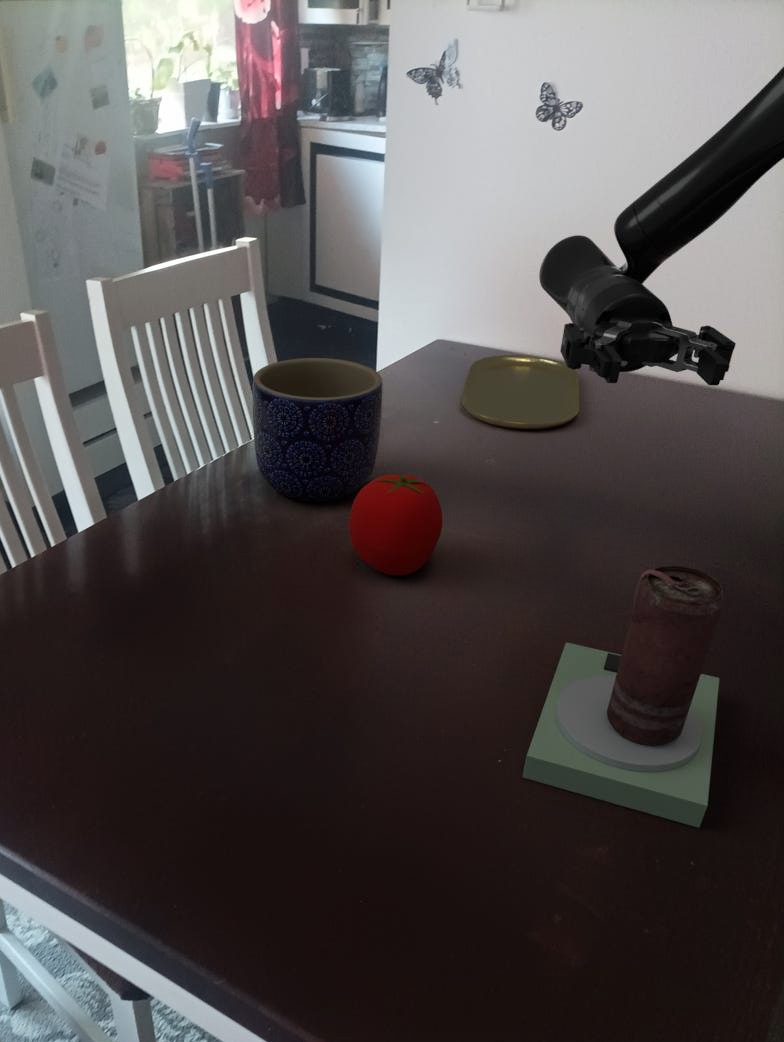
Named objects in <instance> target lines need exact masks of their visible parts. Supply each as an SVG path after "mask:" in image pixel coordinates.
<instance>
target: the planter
mask: <svg viewBox="0 0 784 1042" xmlns="http://www.w3.org/2000/svg"><path fill="white" fill-rule="evenodd" d="M382 406H383V378H382V376H381V375H380V373H378V372H377V371H376V370H375V369H373V368H371V367H370V366H367V365H364V364H363V363H362V364H361V363H358V362H355V361H349V360H345V359H336V358H330V357H329V358H328V357H325V358H324V357H303V358H292V359H285V360H280V361H277V362H273V363H270V364H268V365H265V366H263V367H261V368H259V369H258V370H257V371H256V372H255V373H254V374H253V377H252V422H253V423H252V425H253V441H254V451H255V452H254V453H255V459H256V463H257V467H258V470H259V472H260V475H262V477H263V479H264V480H265V481H266V482H267V484H268V485H269V486H270V487H271V488H272V489H273V490H274V491H276V492H278V493H279V494H281V495H283V496H285V497H287V498H290V499H293V500H297V501H303V502H312V503H313V502H315V503H316V502H317V503H318V502H319V503H321V502H331V501H336V500H340V499H343V498H346V497H348V496H350V495H352V494H354V493H356V492H357V491H358V490H360V489H361V488H362V487H364V484H365V483H366V482H367V481H368V480H369V478H370V477H371V475H372V473H373V472H374V468H375V465H376V462H377V457H378V456H377V455H378V450H379V443H380V436H381V435H380V434H381V422H382V409H383V407H382Z"/></svg>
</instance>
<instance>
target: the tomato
mask: <svg viewBox="0 0 784 1042" xmlns="http://www.w3.org/2000/svg"><path fill="white" fill-rule="evenodd" d="M431 481H433V480H424V479H423V480H422V479H420V478H418V477H416V476H414V475H408V474H402V473H399V474H395V473H394V474H393V473H392V474H384V475H382V476H379V477H377V478H374V479H373V480H372V481H370V482H368V483H367V484H365V485H363V486H362V487H361V488H360V490H359V492H358V493H357V495H356V496H355V497H354V500H353V503H352V505H351V508H350V510H351V511H350V514H349V523H348V524H349V525H348V528H349V529H348V530H349V536H350V541H351V544H352V547H353V549H354V551H355V553H356V554H357V556H358V557H359V559H361V560H362V561H363V562H365V563H366V564H367V565H368V566H369V567H371V568H372V569H374V570H375V571H377V572H379V573H382V574H385V575H389V576H398V577H400V576H401V577H402V576H406V575H410V574H412V573H414V572H416V571H418V570H419V569H420V568H422V567H423V566H424V565H425V563H426V562H427V561H428V560H429V559H430V557H431V556H432V554H433V553H434V551H435V549H436V547H437V544H438V541H439V539H440V538H441V534H442V529H443V510H442V505H441V502H440V499H439V497H438V496H437V494H436V492H435V490H434V489H433V487H432V486H431V485H429V483H427V482H431Z"/></svg>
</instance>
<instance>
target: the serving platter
mask: <svg viewBox="0 0 784 1042" xmlns="http://www.w3.org/2000/svg"><path fill="white" fill-rule="evenodd" d="M460 403H461V405H462V406H463V408H464V409H465V411H466V412H467V413H468V414H469V415H471V416H472V417H474V418H476V419H477V420H479V421H482V422H483V423H488V424H490V425H493V426H497V427H502V428H507V429H512V430H528V431H529V430H532V431H533V430H545V429H546V430H547V429H551V428H555V427H556V428H557V427H559V426H562V425H565V424H568V423H569V422H570V421H572V420H573V419H574V418H576V416H577V415H578V414H579V412H580V377H579V373H578V371H576V369H575V370H574V369H571V368H568V367H567V365H566V363H564V362H560V361H557V360H554V359H549V358H546V357H539V356H533V355H524V354H523V355H522V354H521V355H520V354H503V355H502V354H501V355H492V356H488V357H483V358H480V359H478V360H475V361H474V362H473V363H472V364H470V367H469V370H468V374H467V377H466V380H465V384H464V387H463V391H462V395H461V397H460Z"/></svg>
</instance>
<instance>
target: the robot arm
mask: <svg viewBox="0 0 784 1042" xmlns="http://www.w3.org/2000/svg"><path fill="white" fill-rule="evenodd" d="M783 159H784V66H782V68H781V69H780V70H779V71H778V72H777V73H776V74H775V75H774V76H773V78H771V79H770V80H769V81H768V83H766V84H765V85H764V86H763V88H762V89H760V91H758V92H757V93H756V94H755V95H754V96H753V98H751V99H750V100H749V101H748V102H747V104H745V106H743V107H742V108H741V109H740V110H739V111H738V112H737V113H736V114H735V115H734V116H733V117H732V118H730V119H729V120H728V121H727V122H726V123H725V124H724V125H723V126H722V127H721V128H720V129H719V130H717V132H715V133H714V134H713V135H712V136H711V137H710V138H708V139H707V140H706V141H705V142H704V143H703V144H702V145H700V147H698V148H697V149H695V151H694V152H692V153H691V154H689V156H688V157H686V158H685V159H684V160H683V161H681V162H680V163H678V164H677V166H675V167H674V168H673V169H672V170H671V171H669V172H668V173H667V174H665V175H663V177H662V178H660V179H659V180H657V182H656V183H655V184H653V185H652V186H650V187H649V188H648V189H647V190H646V191H645V192H644V193H642V194H641V195H640V196H639V197H638V198H636V199H635V200H634V201H633V202H631V203H630V204H629V205H628V206H627V207H625V208H624V209H623V210H622V211H621V212H620V213H619V214H618V215H617V217H616V219H615V221H614V224H613V233H614V237H615V240H616V242H617V244H618V246H619V248H620V250H621V252H622V254H623V256H624V259H625V262H624V264H623V265H621V266H619V267H618V266H617V265H616V264H615V263H614V262H613V261H612V260H611V259H610V258H609V257H608V255H606V253H604V251H603V250H602V249H601V248H600V247H599V246H598V245H597V244H596V243H595V241H594V240H592V239H591V238H589V237H588V236H585V235H582V234H581V235H580V234H575V235H571V236H567V237H564V238H562V239H561V240H559V241H558V242H556V243H555V244H554V245H553V246H552V247H551V248H550V249H549V250H548V251H547V252H546V254H545V256H544V257H543V259H542V262H541V264H540V267H539V272H538V277H539V278H538V279H539V284H540V286H541V288H542V289H543V291H545V293H546V294H547V295H548V296H549V297H550V298H551V299H552V300H553V301H554V302H555V303H556V304H557V305H558V306H559V307H560V308H561V309H562V310H563V312H565V313H566V314H567V316H568V317H569V319H570V321H571V322H568V323H565V324H564V326H563V333H562V338H561V344H560V353H561V356H562V358H563V360H564V364H566V365H567V367H568V368H571V369H574V370H575V371H576V370H579V369H581V368H582V365H583V366H588V370H589V371H590V372H592V373H595V374H597V376H598V377H599V378H601V379H604V380H605V382H606V383H607V384H617V383H618V381H619V377H620V373H630V372H631V373H632V372H634V371H638V370H640V369H643V368H645V367H650V368H653V367H659V368H662V369H666V370H668V371H672V372H675V373H680V372H684V371H687V370H689V371H691V372H694V373H696V374H697V376H699V377H700V378H701V379H702V380H703V381H704V382H705V384H707V385H708V386H719V385H720V383H721V381H724V380H725V376H726V373H728V372H729V369H730V367H731V365H730V364H731V360H732V357H733V354H734V350H735V348H736V342H735V341H733V340H732V339H730V338H729V337H727V336H726V335H725V334H724V333H722V332H721V331H719V330H718V329H717V328H715V327H713V326H711V325H702V326H700V328H699V333H698V334H697V333H696V331H693V330H689V329H685V328H683V327H682V328H681V327H678V326H675V325H673V321H672V318H671V314H670V311H669V309H668V307H667V306H666V305H665V303H664V302H663V301H662V300H661V299H660V298H659V297H657V295H655V294H654V293H653V292H652V291H651V290H649V288H647V286H646V285H644V283H645V282H646V281H647V280H648V278H649V277H650V276H651V275H652V274H653V273H654V272H655V271H656V270H657V269H658V268H659V267H660V266H661V265H662V264H663V263H664V262H665V261H667V260H668V259H670V258H671V257H672V256H673V255H675V254H676V253H678V252H679V251H680V250H682V249H683V248H684V247H685V246H687V245H688V244H690V243H691V242H692V241H694V240H695V239H697V238H698V237H699V236H700V235H702V234H703V233H704V232H706V230H708V229H709V228H710V227H712V226H713V225H714V224H715V223H716V222H718V221H719V220H720V219H721V218H722V217H723V216H725V214H726V213H727V212H729V211H730V210H731V209H732V208H733V206H735V205H736V203H737V202H738V201H739V200H740V199H741V198H743V197H744V195H746V193H747V192H749V190H750V189H751V188H752V187H753V186H754V185H755V184H756V183H757V182H758V181H759V180H760V179H761V178H762V177H763V176H764V175H766V173H768V172H769V171H770V170H771V169H773V168H774V167H775V166H776V165H778V163H779V162H781V161H783ZM675 356H676V359H675V360H674V359H672V358H674V357H675ZM693 358H695V359H698V360H697V361H694V360H693Z"/></svg>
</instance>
